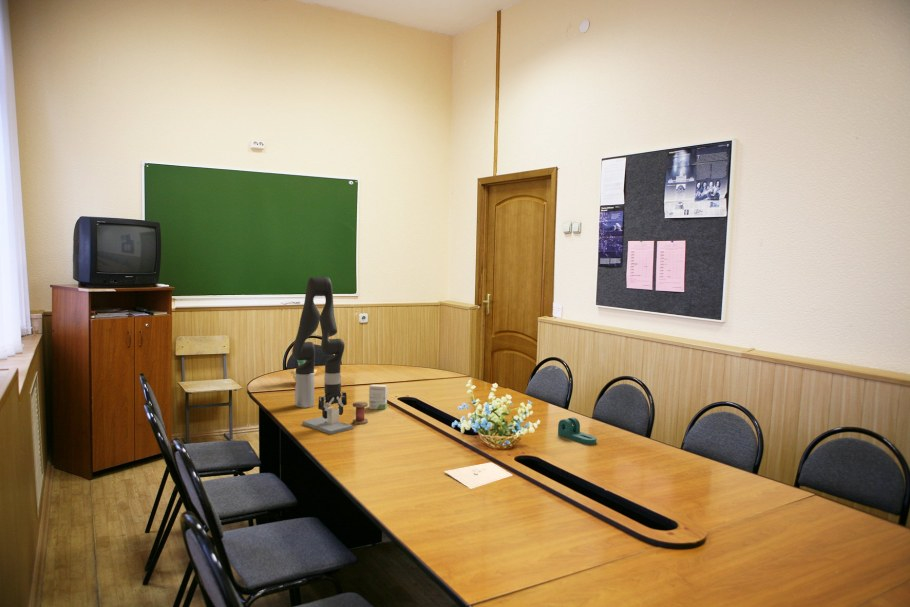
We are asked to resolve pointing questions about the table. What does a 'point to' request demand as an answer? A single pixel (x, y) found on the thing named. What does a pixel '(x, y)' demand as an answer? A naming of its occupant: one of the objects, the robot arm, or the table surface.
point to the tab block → (332, 415)
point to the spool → (360, 413)
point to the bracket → (574, 431)
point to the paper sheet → (478, 474)
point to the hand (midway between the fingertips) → (332, 416)
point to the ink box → (378, 397)
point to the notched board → (327, 425)
